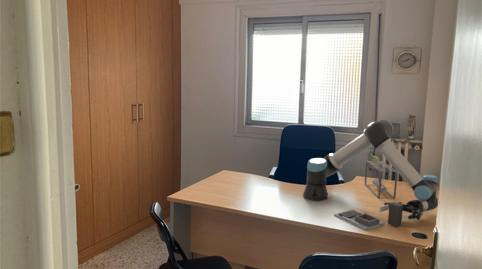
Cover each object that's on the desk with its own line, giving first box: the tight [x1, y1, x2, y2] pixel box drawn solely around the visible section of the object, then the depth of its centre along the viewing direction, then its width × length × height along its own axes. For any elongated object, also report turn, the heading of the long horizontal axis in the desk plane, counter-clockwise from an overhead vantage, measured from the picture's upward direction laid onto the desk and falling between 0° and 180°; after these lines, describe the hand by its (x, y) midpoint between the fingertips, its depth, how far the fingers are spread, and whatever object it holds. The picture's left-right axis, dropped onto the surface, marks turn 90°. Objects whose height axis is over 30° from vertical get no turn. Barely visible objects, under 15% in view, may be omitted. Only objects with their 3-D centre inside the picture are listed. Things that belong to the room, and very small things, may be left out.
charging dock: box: [333, 209, 385, 231], centre depth 193 cm, size 21×14×4 cm, turn 32°
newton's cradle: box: [364, 160, 399, 199], centre depth 240 cm, size 30×10×18 cm, turn 178°
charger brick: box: [387, 201, 404, 228], centre depth 188 cm, size 5×4×11 cm
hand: (391, 213), depth 186 cm, fingers open, 13 cm apart
